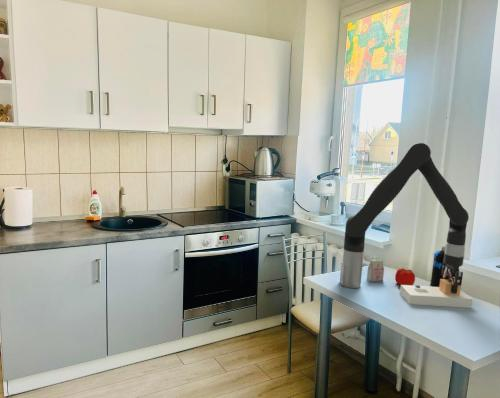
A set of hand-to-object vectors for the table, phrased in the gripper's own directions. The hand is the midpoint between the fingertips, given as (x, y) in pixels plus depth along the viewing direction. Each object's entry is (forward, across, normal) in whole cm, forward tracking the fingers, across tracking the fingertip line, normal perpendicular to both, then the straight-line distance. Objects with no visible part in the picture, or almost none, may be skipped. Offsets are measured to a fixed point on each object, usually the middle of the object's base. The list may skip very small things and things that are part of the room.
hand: (449, 289), depth 172 cm
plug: (+3, 0, 0) cm, 3 cm away
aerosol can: (+5, -18, +4) cm, 19 cm away
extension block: (+5, 0, -6) cm, 8 cm away
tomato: (+5, -18, -13) cm, 23 cm away
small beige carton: (+5, -22, -26) cm, 35 cm away
